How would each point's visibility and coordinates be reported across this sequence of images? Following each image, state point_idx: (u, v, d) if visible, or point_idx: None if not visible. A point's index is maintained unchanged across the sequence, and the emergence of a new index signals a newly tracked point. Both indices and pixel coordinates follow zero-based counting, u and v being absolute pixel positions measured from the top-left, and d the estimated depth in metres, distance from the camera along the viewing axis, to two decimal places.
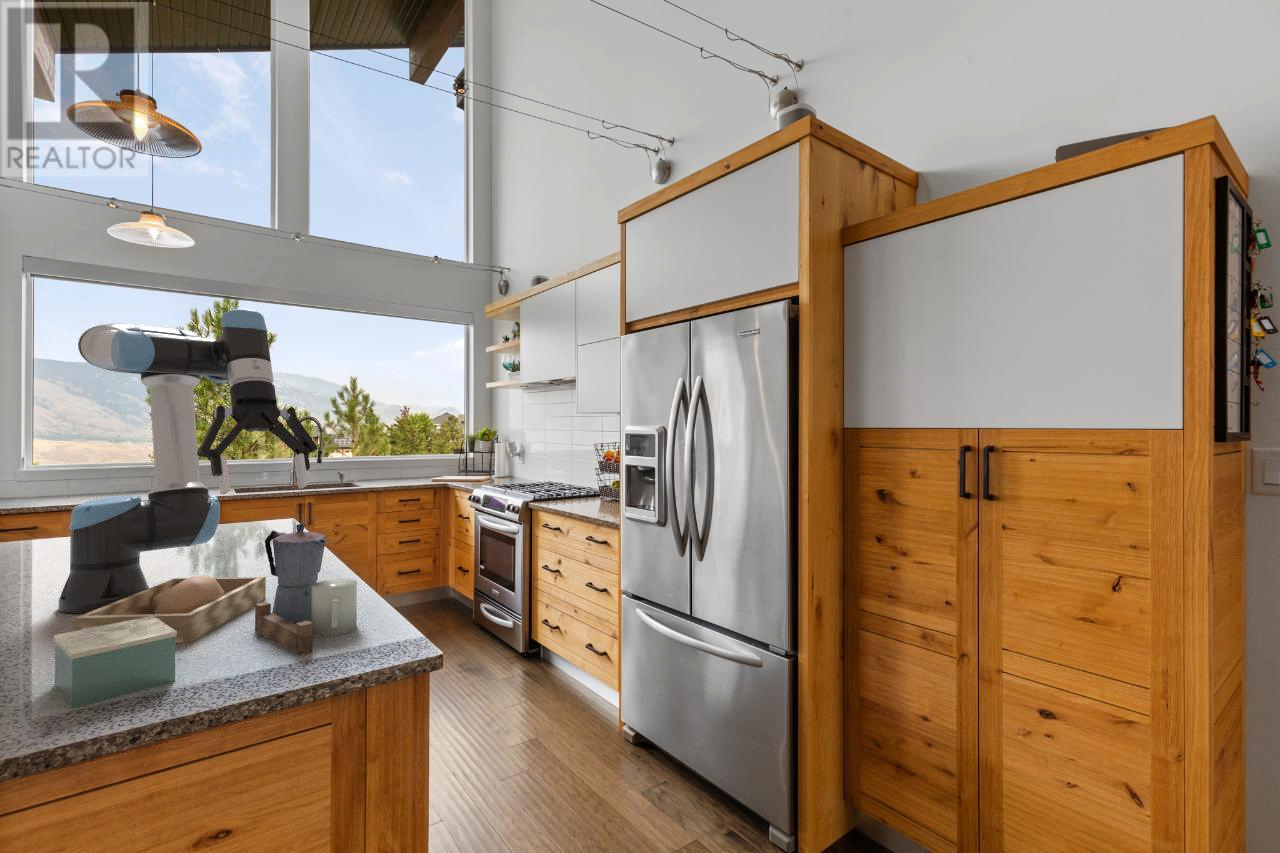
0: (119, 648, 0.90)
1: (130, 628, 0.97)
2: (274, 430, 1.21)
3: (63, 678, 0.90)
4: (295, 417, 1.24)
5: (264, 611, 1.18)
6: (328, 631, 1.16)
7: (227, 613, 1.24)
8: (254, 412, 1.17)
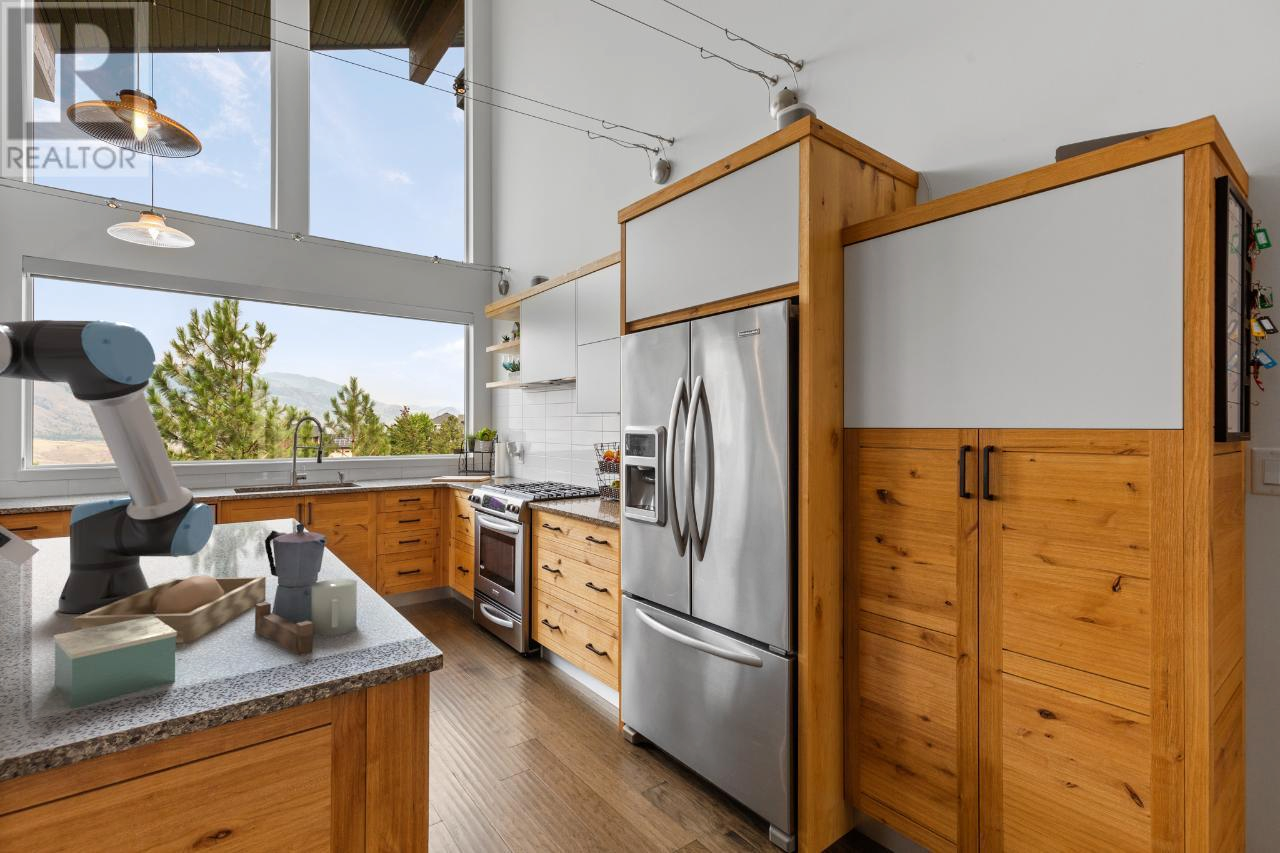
0: (119, 648, 0.90)
1: (130, 628, 0.97)
2: None
3: (63, 678, 0.90)
4: None
5: (264, 611, 1.18)
6: (328, 631, 1.16)
7: (227, 613, 1.24)
8: None
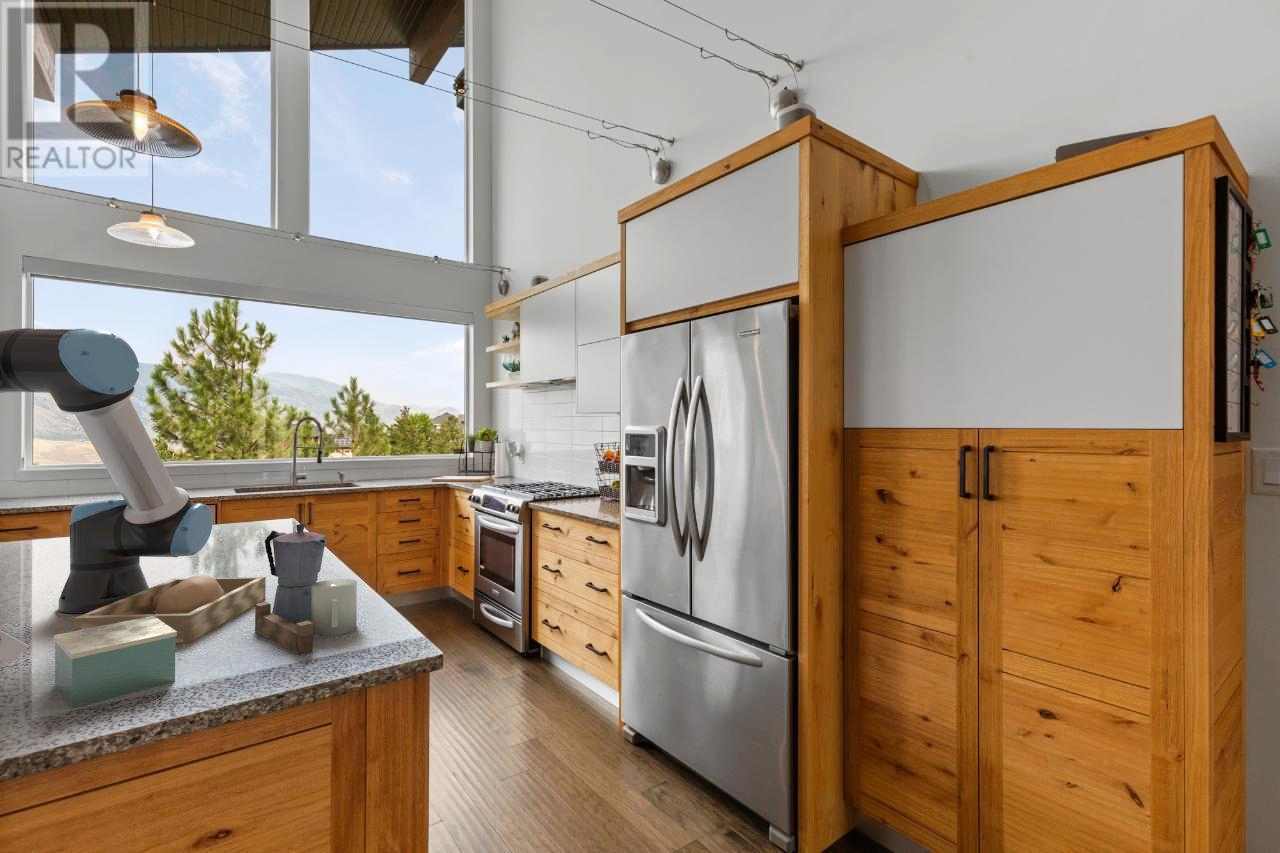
0: (119, 648, 0.90)
1: (130, 628, 0.97)
2: None
3: (63, 678, 0.90)
4: None
5: (264, 611, 1.18)
6: (328, 631, 1.16)
7: (227, 613, 1.24)
8: None
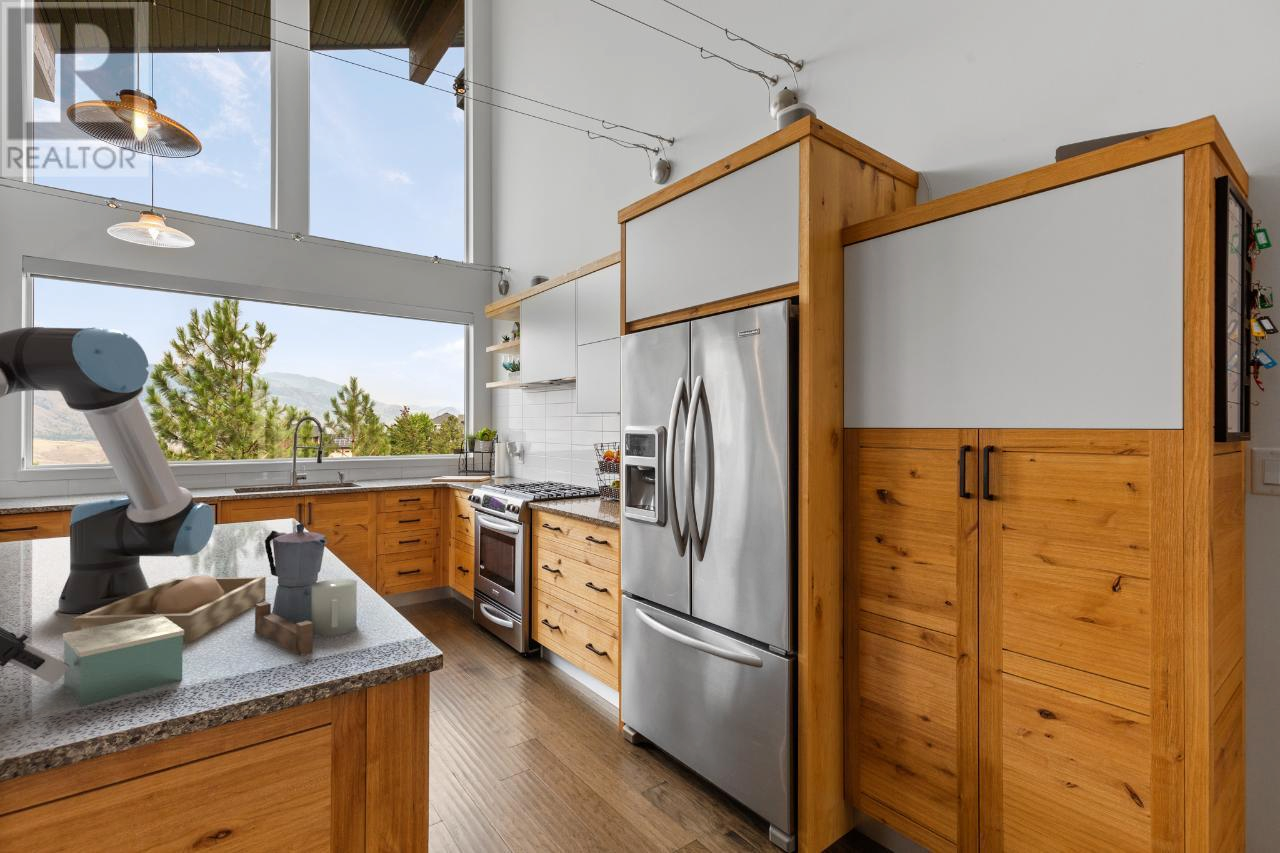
0: (127, 646, 0.91)
1: (138, 627, 0.97)
2: None
3: (72, 676, 0.90)
4: None
5: (264, 611, 1.18)
6: (328, 631, 1.16)
7: (227, 613, 1.24)
8: None
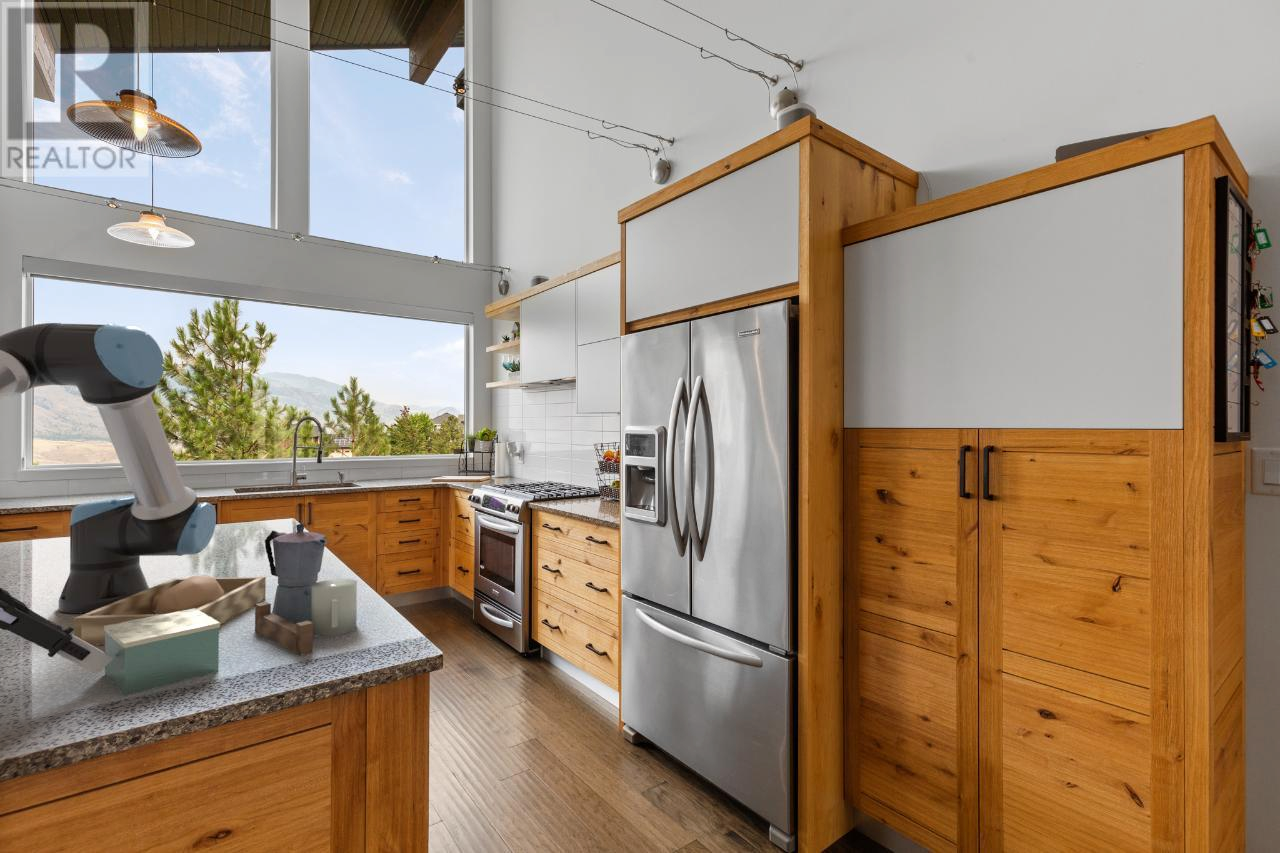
0: (167, 637, 0.94)
1: (175, 619, 1.01)
2: None
3: (114, 666, 0.94)
4: (5, 628, 0.81)
5: (264, 611, 1.18)
6: (328, 631, 1.16)
7: (227, 613, 1.24)
8: None
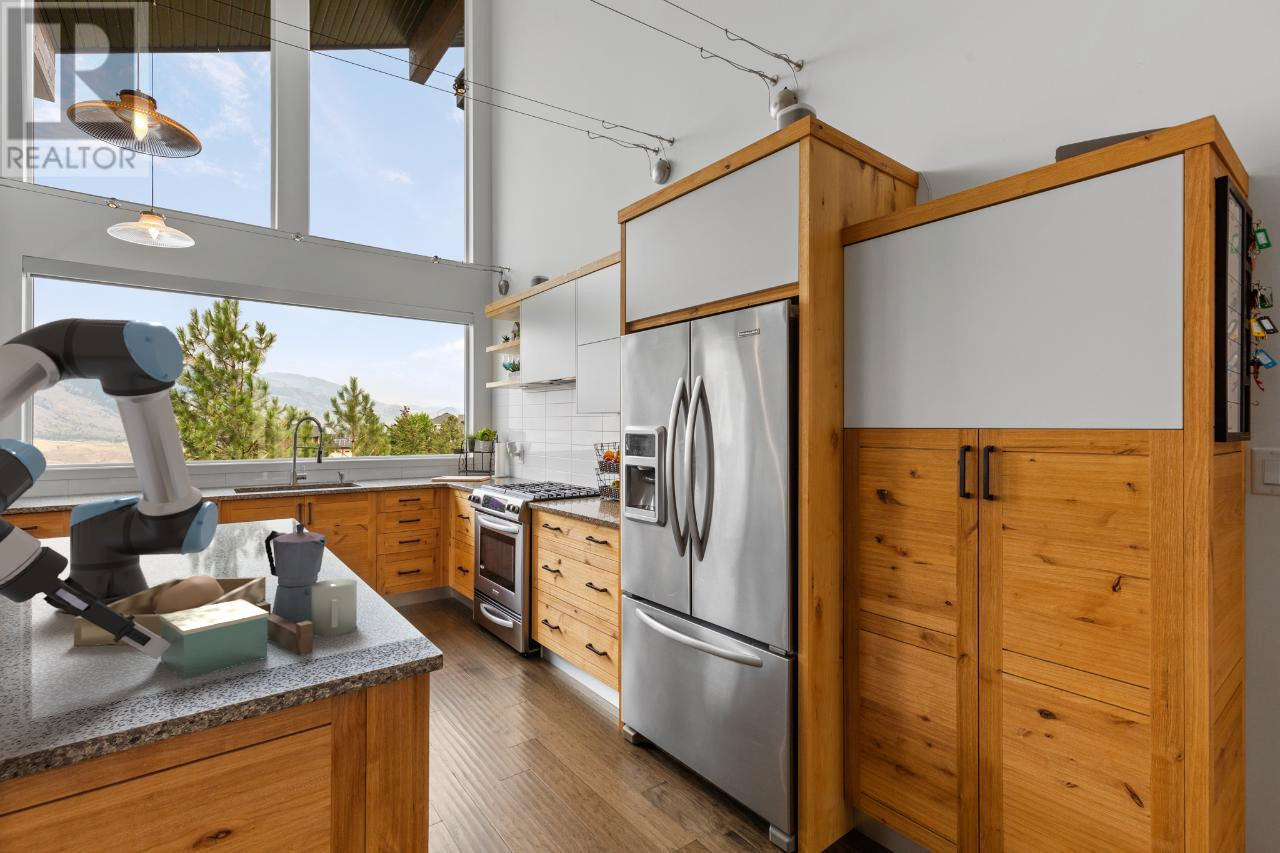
0: (221, 626, 1.00)
1: (225, 609, 1.07)
2: None
3: (172, 653, 1.00)
4: (78, 615, 0.87)
5: None
6: (328, 631, 1.16)
7: None
8: (45, 600, 0.89)
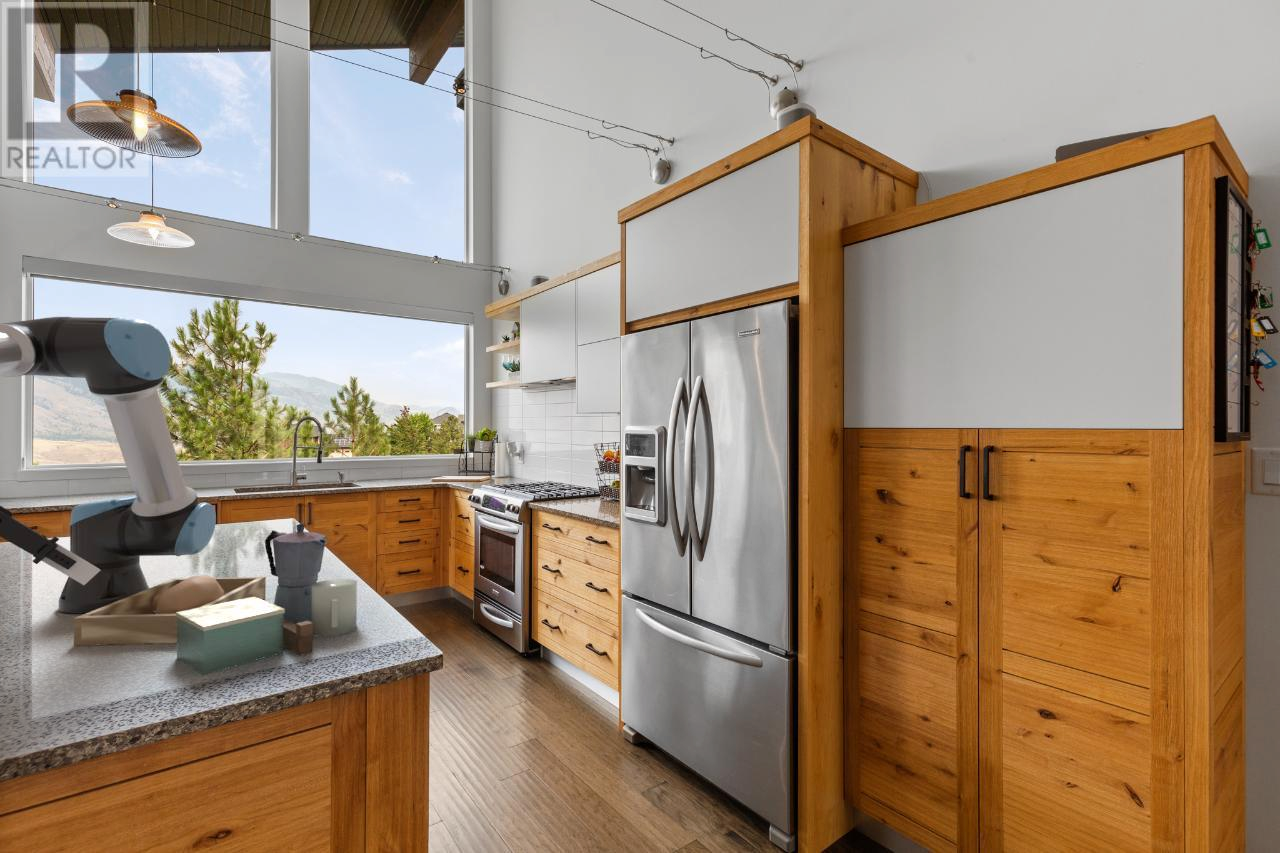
0: (239, 622, 1.02)
1: (241, 606, 1.09)
2: None
3: (190, 649, 1.01)
4: None
5: None
6: (328, 631, 1.16)
7: None
8: None
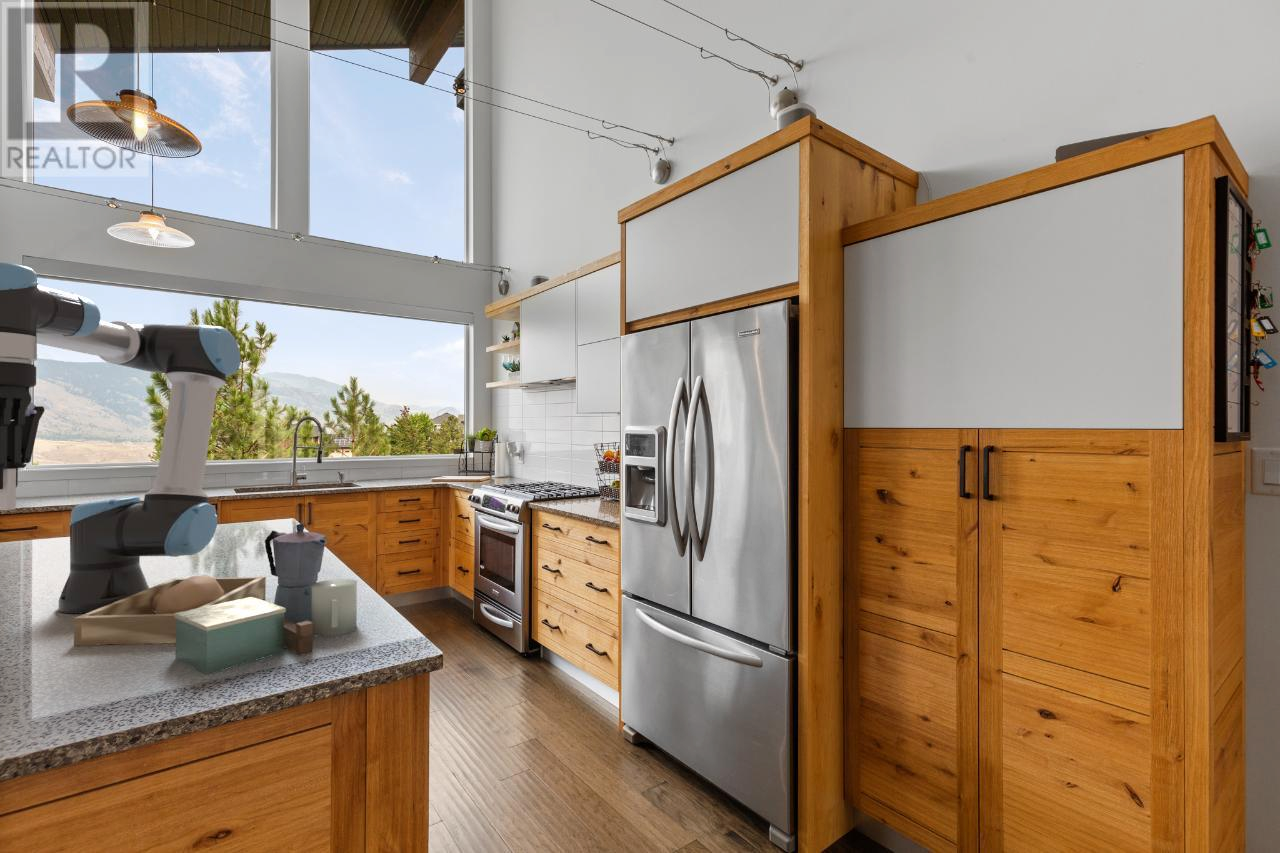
0: (242, 621, 1.02)
1: (240, 606, 1.09)
2: None
3: (191, 649, 1.01)
4: None
5: None
6: (328, 631, 1.16)
7: None
8: None
